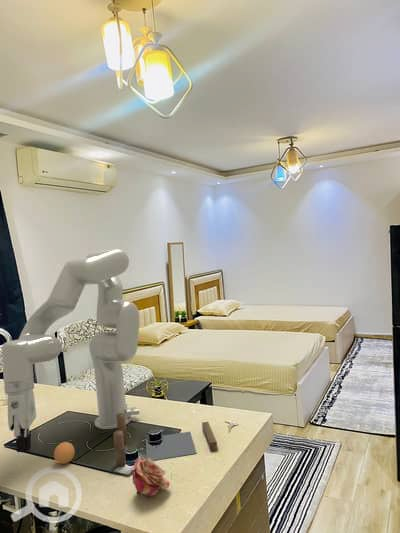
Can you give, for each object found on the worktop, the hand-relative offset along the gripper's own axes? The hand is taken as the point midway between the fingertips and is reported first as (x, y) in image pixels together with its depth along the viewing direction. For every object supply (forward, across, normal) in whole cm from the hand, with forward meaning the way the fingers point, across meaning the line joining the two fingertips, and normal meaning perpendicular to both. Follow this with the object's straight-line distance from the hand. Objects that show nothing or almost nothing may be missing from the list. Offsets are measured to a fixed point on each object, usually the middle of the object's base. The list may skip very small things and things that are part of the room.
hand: (23, 450), depth 110 cm
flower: (+6, -21, -35) cm, 41 cm away
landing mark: (+5, +1, -41) cm, 41 cm away
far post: (+5, +7, -27) cm, 28 cm away
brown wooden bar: (+4, +1, -53) cm, 53 cm away
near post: (+5, -6, -27) cm, 28 cm away
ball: (+3, +1, -11) cm, 11 cm away
